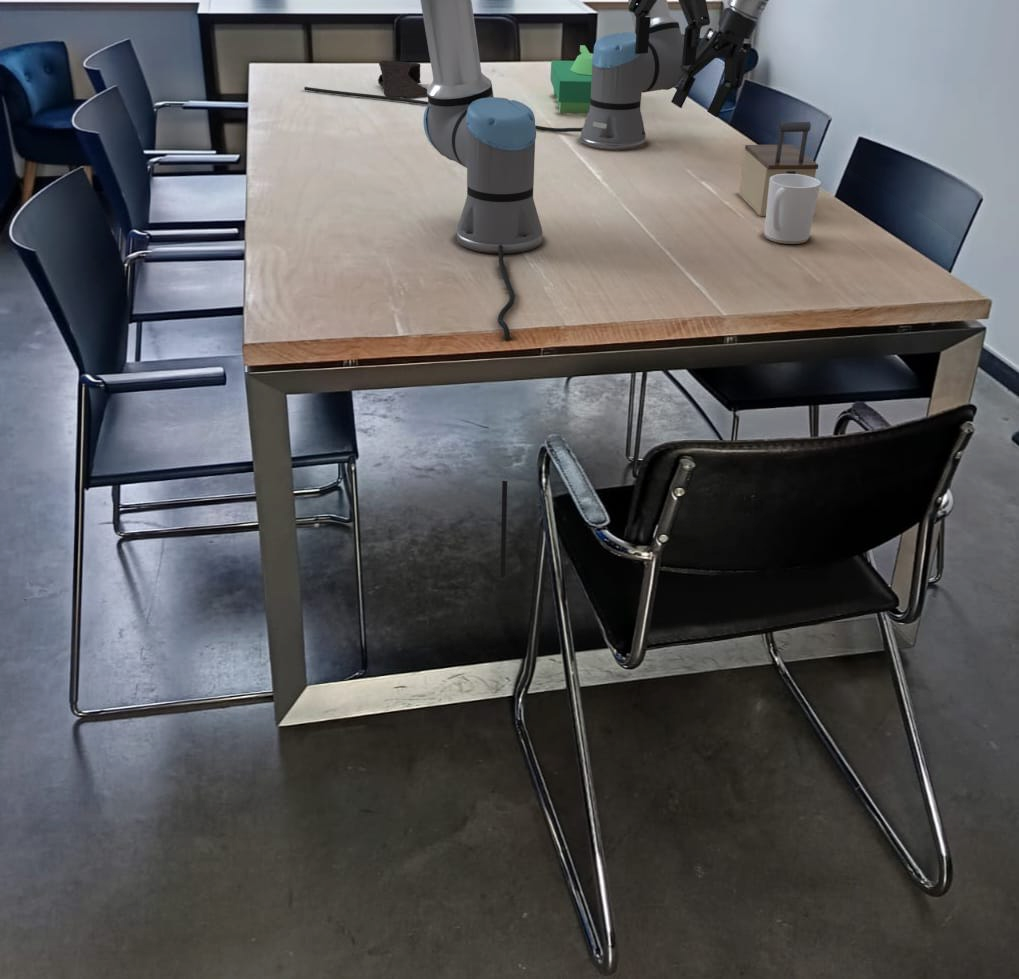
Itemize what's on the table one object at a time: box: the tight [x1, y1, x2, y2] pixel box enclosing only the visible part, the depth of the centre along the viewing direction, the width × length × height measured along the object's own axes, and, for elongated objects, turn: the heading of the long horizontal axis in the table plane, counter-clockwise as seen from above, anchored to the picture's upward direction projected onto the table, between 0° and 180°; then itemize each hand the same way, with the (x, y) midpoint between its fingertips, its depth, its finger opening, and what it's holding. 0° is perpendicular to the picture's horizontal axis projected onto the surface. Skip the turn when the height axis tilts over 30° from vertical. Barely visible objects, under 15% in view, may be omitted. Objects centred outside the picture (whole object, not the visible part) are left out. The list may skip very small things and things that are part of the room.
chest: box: [738, 148, 817, 217], centre depth 215 cm, size 14×10×9 cm
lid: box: [744, 121, 819, 170], centre depth 210 cm, size 15×10×8 cm, turn 6°
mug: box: [763, 174, 822, 245], centre depth 197 cm, size 11×9×10 cm
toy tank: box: [550, 44, 593, 115], centre depth 290 cm, size 18×12×35 cm
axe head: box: [377, 59, 428, 99], centre depth 299 cm, size 18×8×15 cm
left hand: (664, 59), depth 210 cm, fingers open, 13 cm apart
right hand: (694, 110), depth 240 cm, fingers open, 13 cm apart
